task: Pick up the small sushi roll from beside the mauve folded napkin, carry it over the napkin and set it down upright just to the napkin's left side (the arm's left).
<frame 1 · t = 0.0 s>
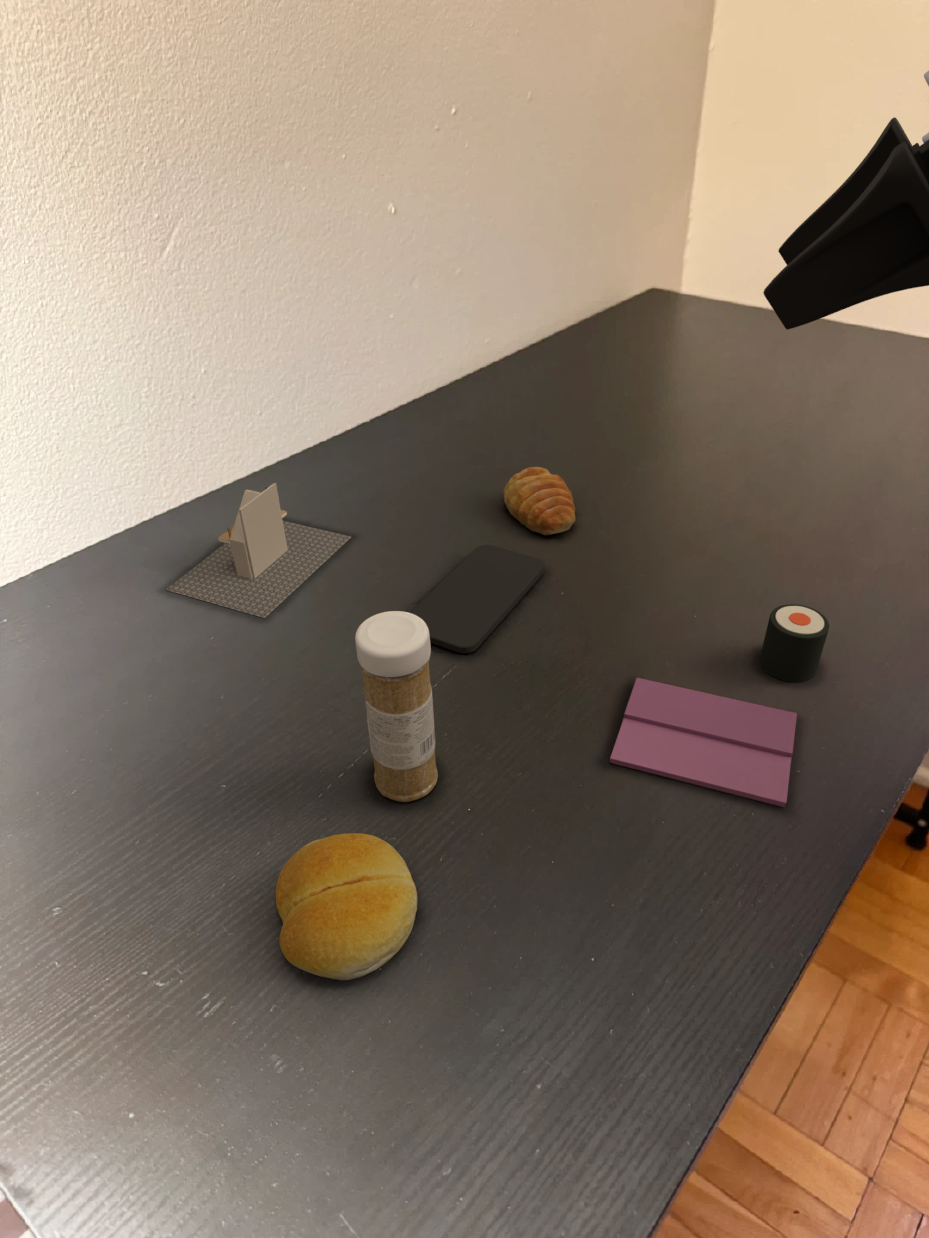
hand: (782, 286, 41), 33 cm above the table, tool tilted 50°, fingers open, 7 cm apart
pastry: (542, 514, 89), on the table
sushi roll: (787, 664, 68), on the table
bread roll: (346, 915, 51), on the table
architectural model: (263, 564, 83), on the table
spice jar: (406, 782, 60), on the table
napkin: (704, 740, 62), on the table
phone: (476, 600, 77), on the table
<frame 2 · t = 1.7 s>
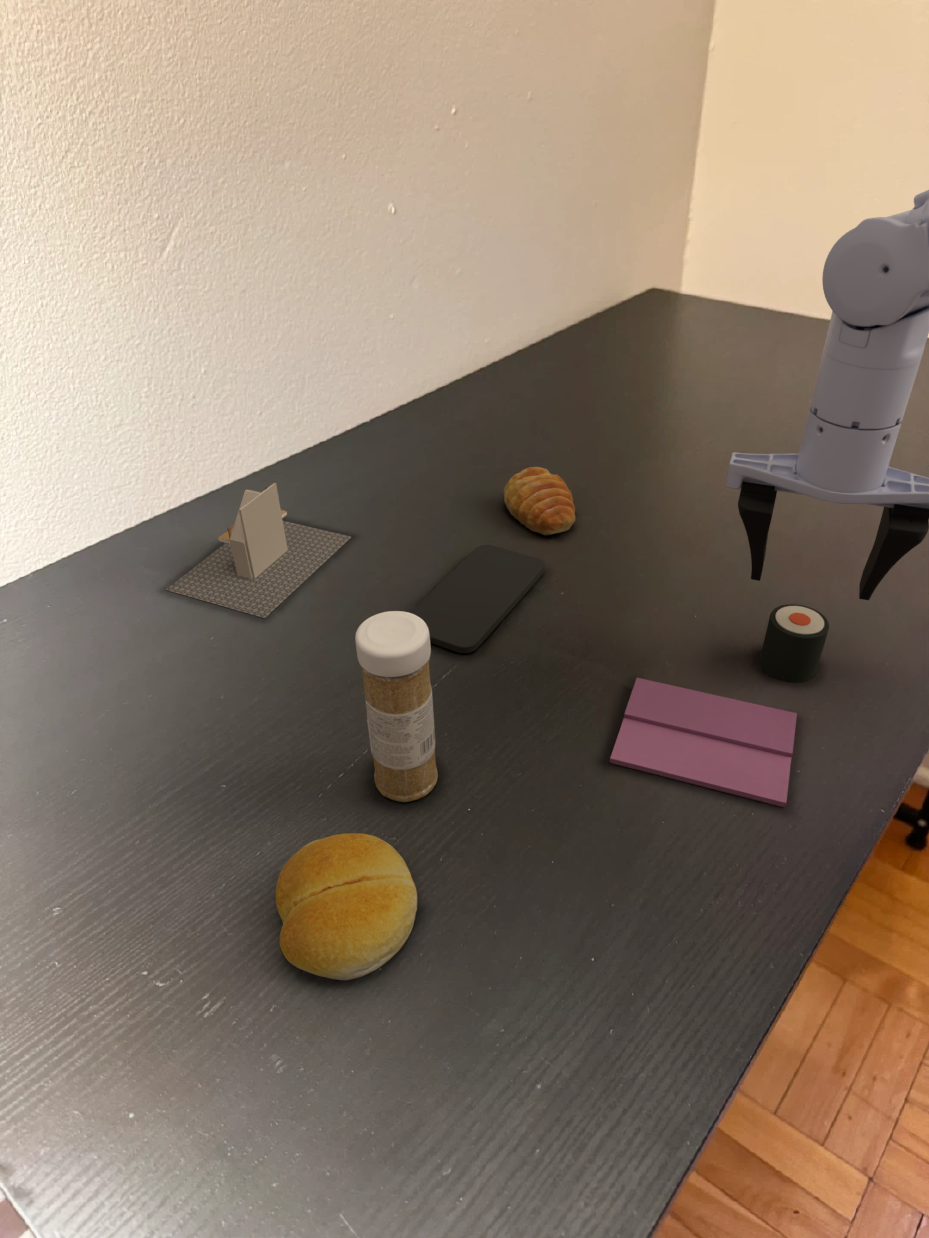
hand: (809, 582, 64), 8 cm above the table, tool pointing down, fingers open, 7 cm apart
nothing on the table moved.
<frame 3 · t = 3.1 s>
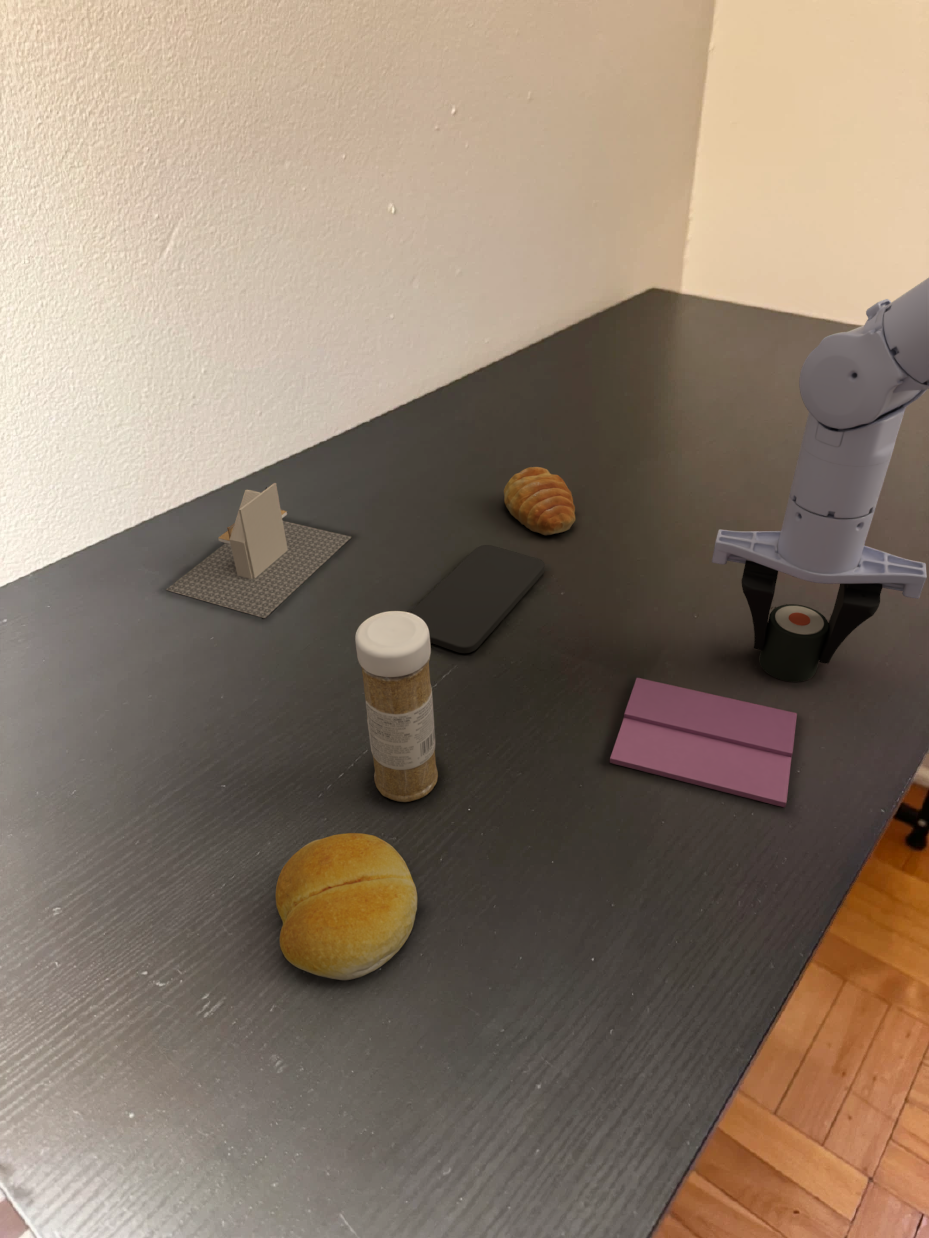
hand: (791, 649, 67), 2 cm above the table, tool pointing down, fingers closed on sushi roll, 4 cm apart
sushi roll: (787, 664, 68), on the table, touching gripper
everything else where it was.
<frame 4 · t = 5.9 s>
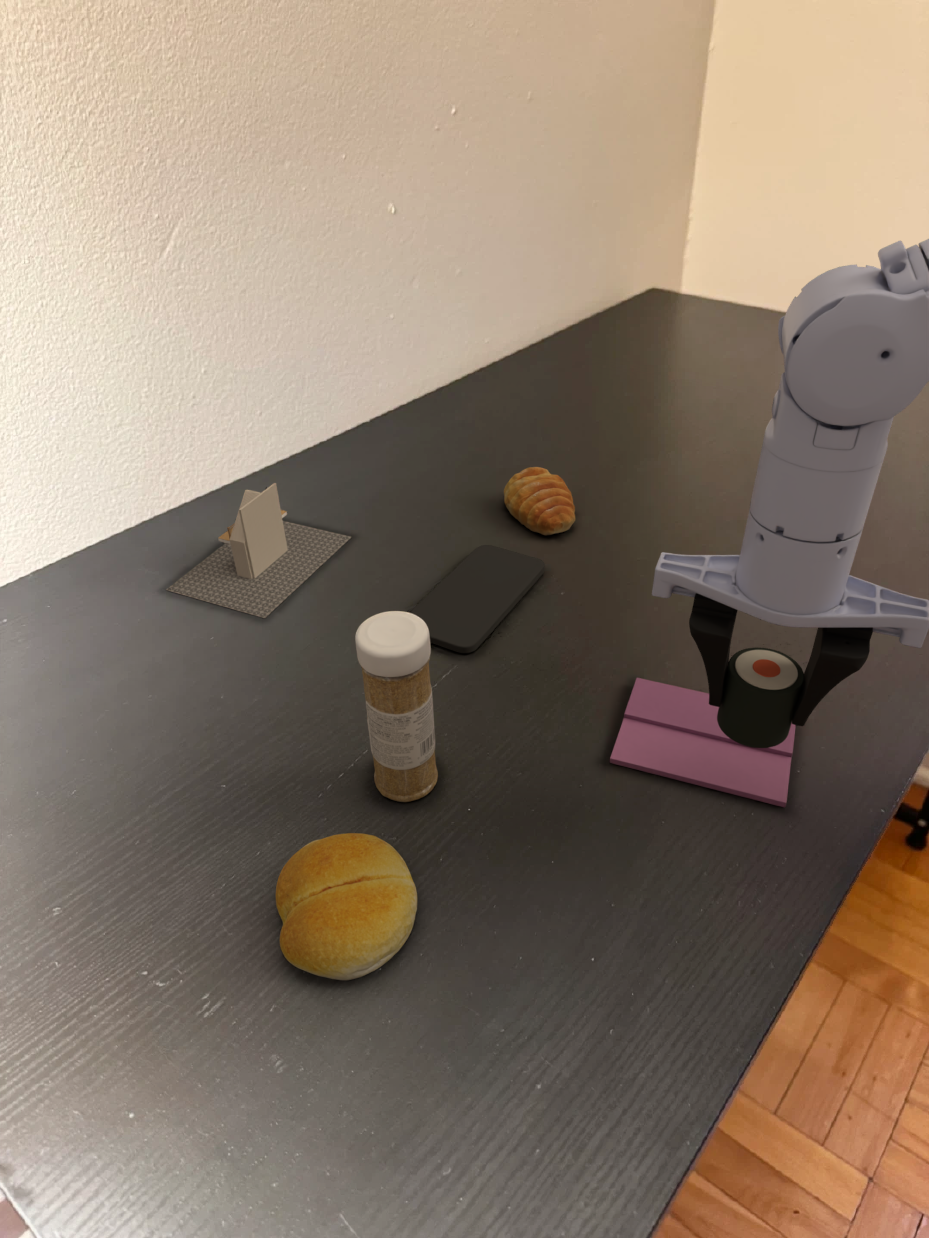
hand: (757, 705, 52), 8 cm above the table, tool pointing down, fingers closed on sushi roll, 4 cm apart
sushi roll: (752, 723, 53), point 7 cm above the table, touching gripper
everything else where it was.
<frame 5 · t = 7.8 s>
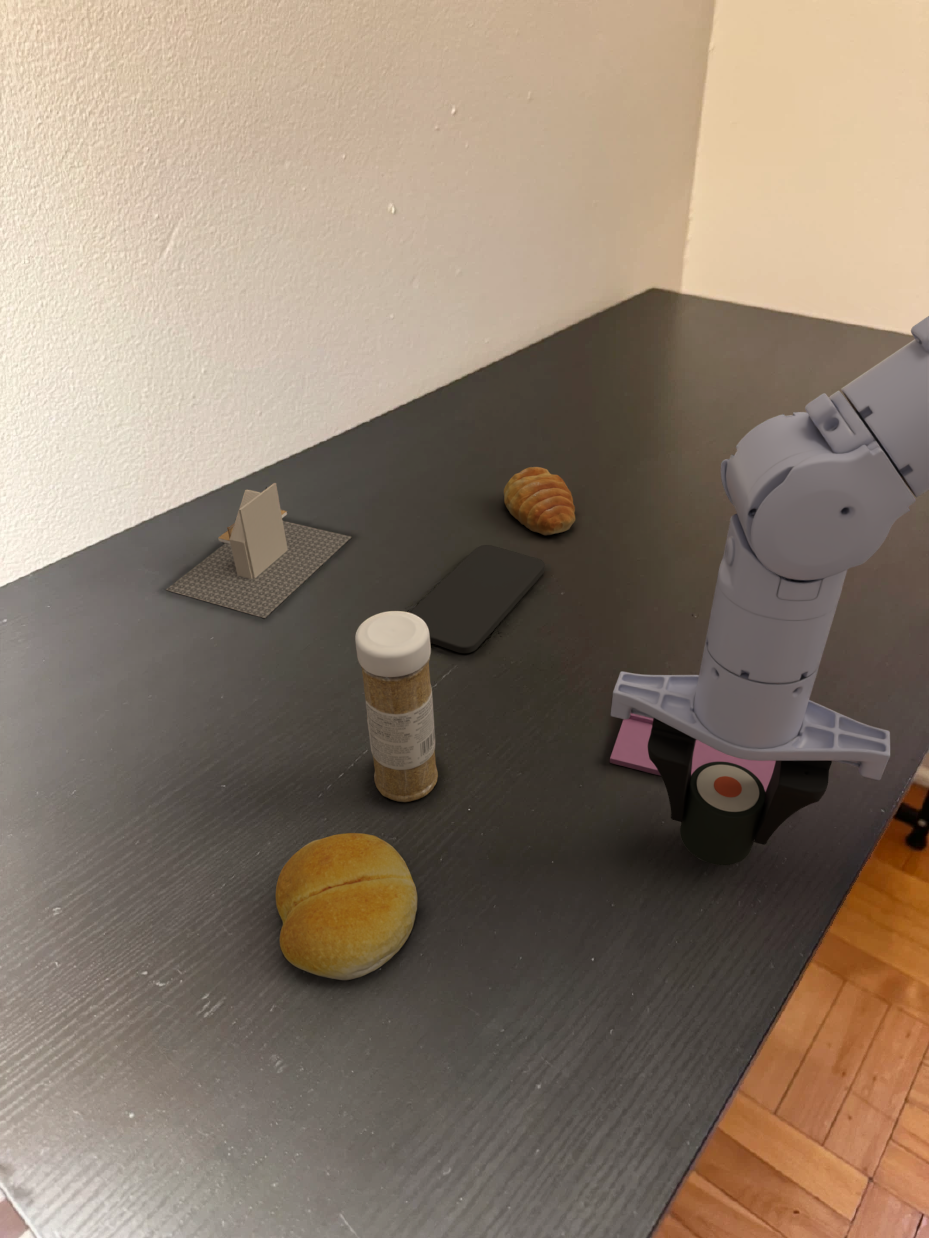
hand: (720, 820, 52), 3 cm above the table, tool pointing down, fingers closed on sushi roll, 4 cm apart
sushi roll: (715, 836, 53), point 2 cm above the table, touching gripper
everything else where it was.
when the fingers open (2 cm above the table, at t = 8.9 s): sushi roll stays where it is, on the table.
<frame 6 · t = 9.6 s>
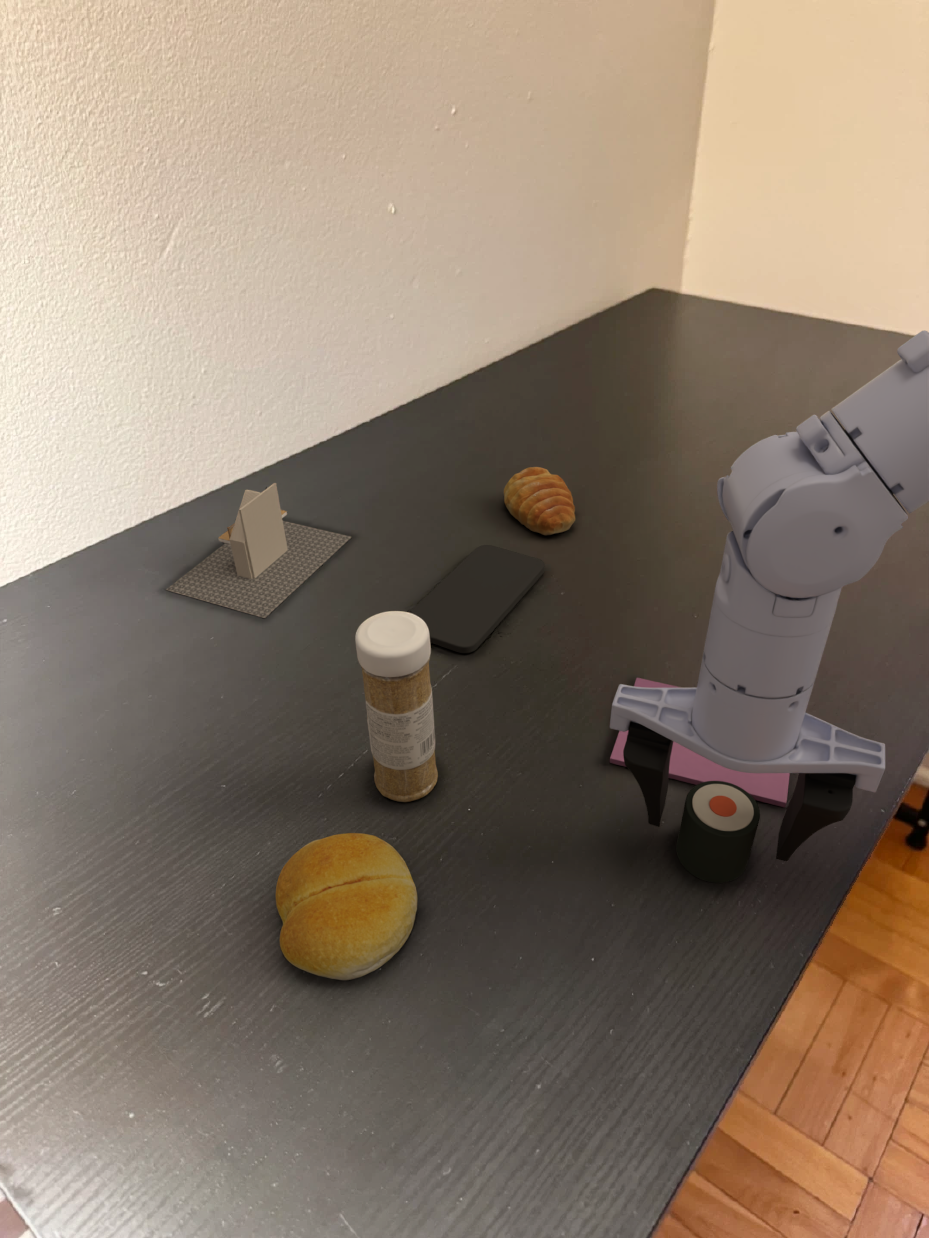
hand: (718, 830, 52), 2 cm above the table, tool pointing down, fingers open, 7 cm apart
sushi roll: (711, 854, 54), on the table
everything else where it was.
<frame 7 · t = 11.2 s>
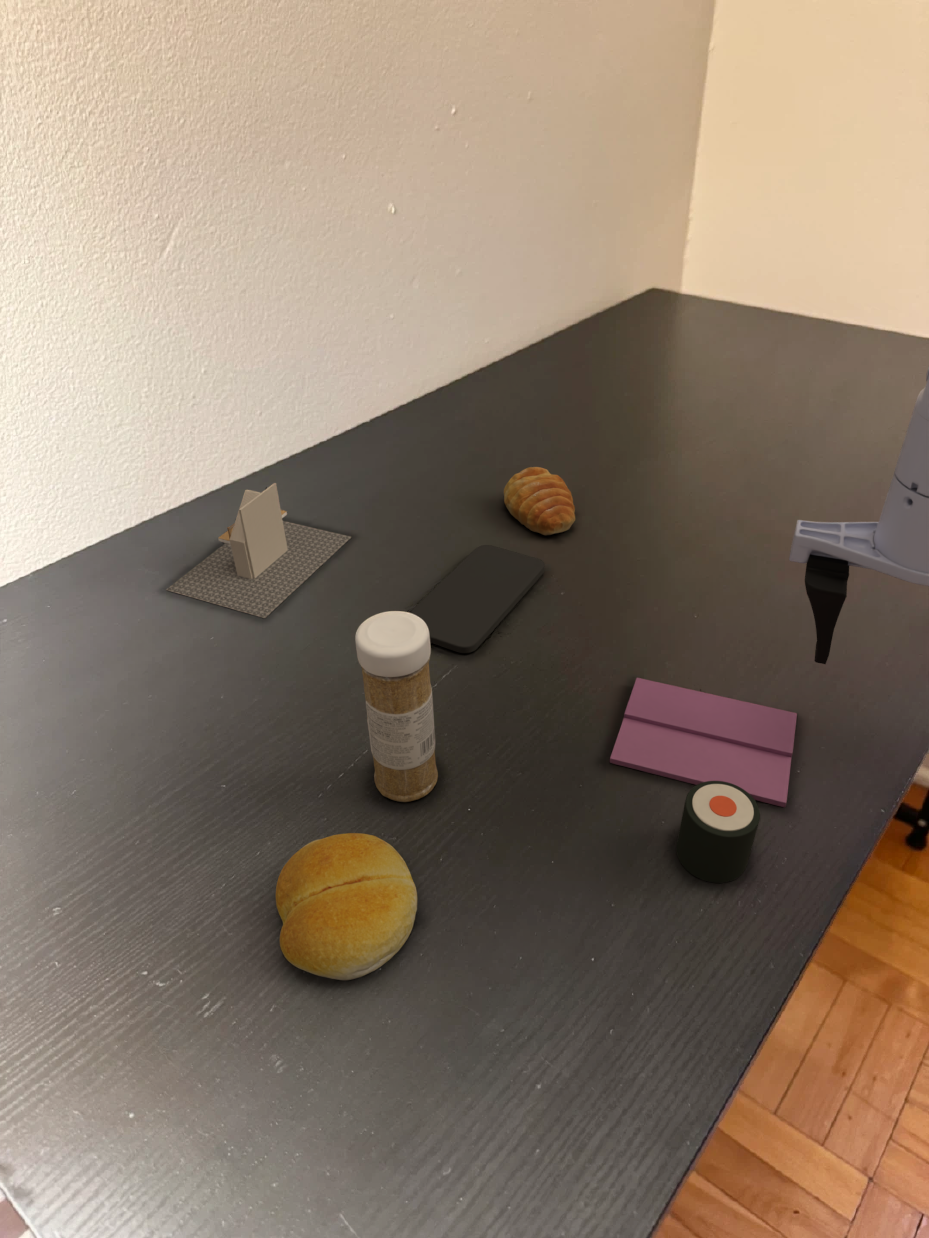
hand: (882, 666, 55), 8 cm above the table, tool pointing down, fingers open, 7 cm apart
nothing on the table moved.
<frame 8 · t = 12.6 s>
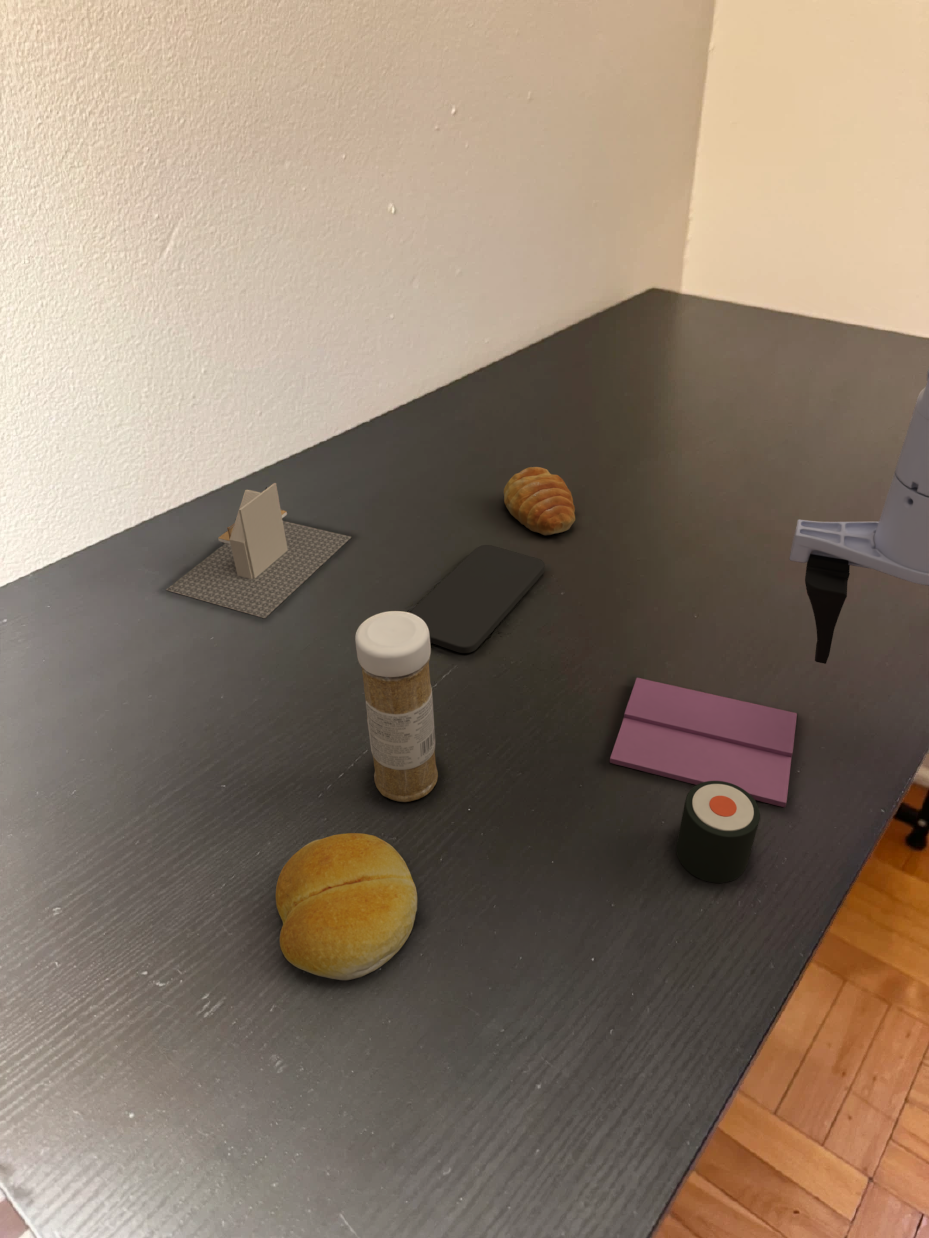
hand: (883, 666, 55), 8 cm above the table, tool pointing down, fingers open, 7 cm apart
nothing on the table moved.
at the end: sushi roll inside the target area (0.6 cm from its centre), on the table; sushi roll tilted 0°; the gripper is holding nothing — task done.
